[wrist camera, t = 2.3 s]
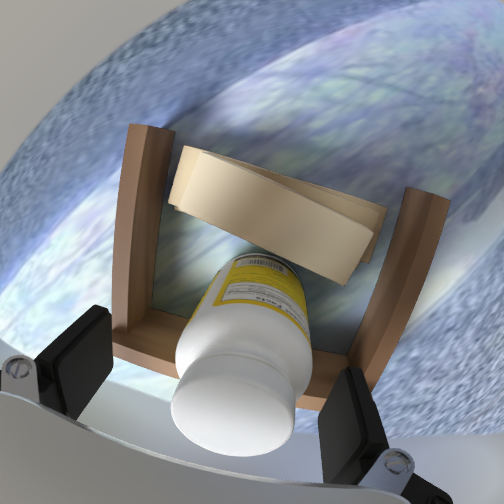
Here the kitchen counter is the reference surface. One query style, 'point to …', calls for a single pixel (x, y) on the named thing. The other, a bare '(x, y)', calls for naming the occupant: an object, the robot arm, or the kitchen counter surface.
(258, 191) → the top offcut
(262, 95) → the kitchen counter surface
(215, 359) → the supplement bottle
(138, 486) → the robot arm
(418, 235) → the walnut rack
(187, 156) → the middle offcut
